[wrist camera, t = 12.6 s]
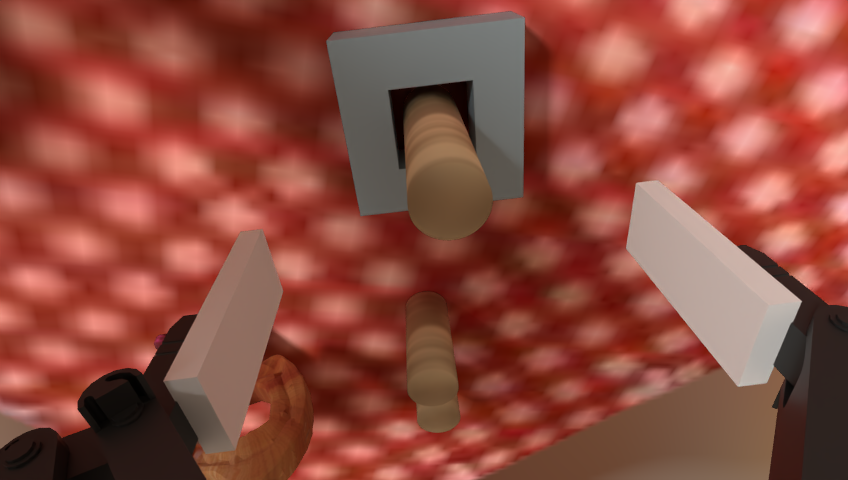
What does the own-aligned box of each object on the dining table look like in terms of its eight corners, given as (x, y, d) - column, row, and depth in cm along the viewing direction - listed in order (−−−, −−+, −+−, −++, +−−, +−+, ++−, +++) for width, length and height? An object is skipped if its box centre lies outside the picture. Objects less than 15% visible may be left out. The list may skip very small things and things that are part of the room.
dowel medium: (402, 294, 40) (403, 373, 32) (444, 288, 39) (455, 366, 32) (409, 326, 41) (411, 409, 34) (449, 320, 41) (461, 402, 33)
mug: (185, 381, 43) (97, 558, 31) (145, 314, 39) (23, 488, 26) (339, 357, 43) (316, 528, 30) (315, 287, 39) (276, 451, 26)
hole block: (333, 32, 29) (326, 41, 26) (511, 11, 29) (524, 17, 26) (363, 193, 34) (360, 216, 31) (511, 175, 34) (523, 197, 31)
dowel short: (412, 353, 43) (414, 406, 38) (451, 349, 43) (458, 401, 38) (416, 380, 45) (419, 434, 40) (454, 376, 45) (461, 429, 40)
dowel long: (399, 86, 31) (402, 168, 19) (453, 80, 31) (491, 158, 19) (406, 139, 33) (412, 244, 21) (457, 133, 32) (493, 235, 21)
